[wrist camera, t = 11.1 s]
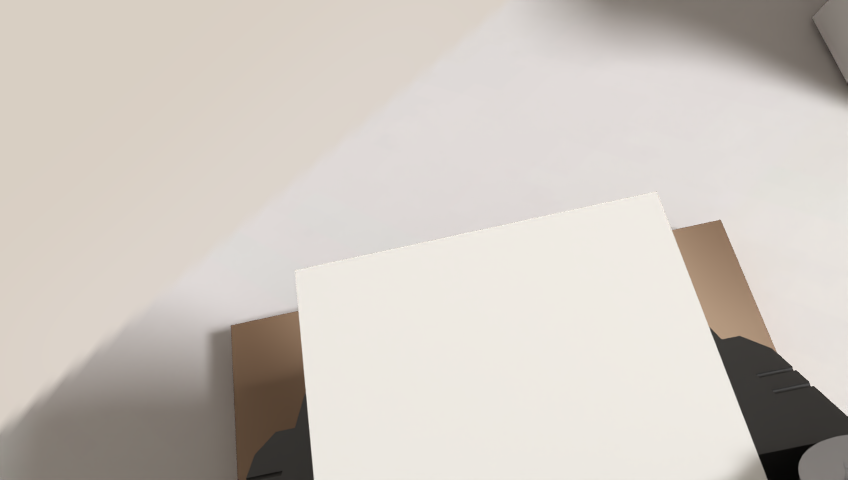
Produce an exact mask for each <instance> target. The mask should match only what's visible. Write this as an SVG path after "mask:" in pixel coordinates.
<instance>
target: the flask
mask: <svg viewBox="0 0 848 480" xmlns="http://www.w3.org/2000/svg"><path fill="white" fill-rule="evenodd" d="M812 18H813V20H814V22H815V24H816V26H817V28H818V30H819V31H820V33H821V35H822V37H823V39H824V41H825V43H826V44H827V46H828V48H829V50H830V52H831V54H832V56H833V58H834V59H835V61H836V63H837V65H838V67H839V69H840V71H841V72H842V74H843V76H844V78H845V80H846V82H847V84H848V0H828V1H827V2H826V3H825V4H824V6H823V7H822V8H821V9H820V10H819V11H818V12H817V13H816V14H815V15H814V16H813V17H812Z"/></svg>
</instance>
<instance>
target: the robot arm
mask: <svg viewBox="0 0 848 480" xmlns="http://www.w3.org/2000/svg"><path fill="white" fill-rule="evenodd" d="M709 328H710V327H709ZM710 331H711V334H712V336H713V339H714V341H715V344H716V347H717V349H718V352H719V354H720V357H721V360H722V362H723V365H724V367H725V370H726V373H727V375H728V378H729V380H730V383H731V386H732V388H733V391H734V394H735V396H736V399H737V401H738V404H739V407H740V409H741V412H742V414H743V417H744V420H745V422H746V425H747V427H748V430H749V433H750V435H751V438H752V440H753V443H754V446H755V448H756V451H757V453H758V456H759V459H760V461H761V464H762V466H763V469H764V472H765V474H766V477H767V480H848V416H846V415H845V414H844V413H843V412H842V411H841V410H840V409H839V408H838V407H836V406H835V405H834V404H833V403H832V402H831V401H830V400H829V399H828V398H826V397H825V396H824V395H823V394H822V393H821V392H820V391H819V390H818V389H816V388H815V387H814V386H812V387H811V386H810V383H809V381H808V380H806V379H805V378H804V377H803V376H802V375H801V374H800V373H799V372H798V371H796V370H795V371H793V369H792V366H791V365H790V364H789V363H788V362H786V361H785V360H784V359H783V358H782V357H781V356H780V355H779V354H778V353H776V352H775V351H774V350H773V349H772V348H770V347H767V346H765V345H762V344H760V343H757V342H754V341H752V340H749V339H747V338H744V337H742V336H736V337H731V338H726V339H721V338H720V337H719V336H718V335H717V334H716V333H715V332H714V331H713V330H712V329H711V328H710ZM246 480H314V474H313V463H312V453H311V442H310V431H309V420H308V409H307V398H306V393H305V395H304V398H303V401H302V405H301V408H300V412H299V415H298V419H297V422H296V426H295V428H292V429H287V430H282V431H277V432H275V433H274V434H273V435H272V436H271V438H270V439H269V440H268V441H267V442H266V443H265V444H264V445H263V446H262V447H261V448H260V449H259V451H258V452H257V453H256V454H255V455H254V458H253V461H252V463H251V466H250V469H249V472H248V474H247V477H246Z"/></svg>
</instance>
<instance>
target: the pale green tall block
mask: <svg viewBox="0 0 848 480" xmlns="http://www.w3.org/2000/svg"><path fill="white" fill-rule="evenodd" d="M295 279H296V290H297V301H298V312H299V322H300V333H301V344H302V355H303V366H304V377H305V388H306V398H307V409H308V420H309V431H310V442H311V453H312V463H313V474H314V480H767V477H766V474H765V472H764V469H763V466H762V464H761V461H760V459H759V456H758V453H757V451H756V448H755V446H754V443H753V440H752V438H751V435H750V433H749V430H748V427H747V425H746V422H745V420H744V417H743V414H742V412H741V409H740V407H739V404H738V401H737V399H736V396H735V394H734V391H733V388H732V386H731V383H730V380H729V378H728V375H727V373H726V370H725V367H724V365H723V362H722V360H721V357H720V354H719V352H718V349H717V347H716V344H715V341H714V339H713V336H712V334H711V331H710V328H709V326H708V323H707V321H706V318H705V315H704V313H703V310H702V308H701V305H700V302H699V300H698V297H697V294H696V292H695V289H694V287H693V284H692V281H691V279H690V276H689V274H688V271H687V268H686V266H685V263H684V261H683V258H682V255H681V253H680V250H679V248H678V245H677V242H676V240H675V237H674V235H673V232H672V229H671V227H670V224H669V222H668V219H667V216H666V214H665V211H664V208H663V206H662V203H661V201H660V198H659V195H658V193H657V191H656V192H651V193H647V194H642V195H637V196H633V197H628V198H624V199H619V200H615V201H610V202H605V203H601V204H596V205H592V206H587V207H582V208H578V209H573V210H569V211H564V212H560V213H555V214H550V215H546V216H541V217H537V218H532V219H527V220H523V221H518V222H514V223H509V224H505V225H500V226H495V227H491V228H486V229H482V230H477V231H472V232H468V233H463V234H459V235H454V236H450V237H445V238H440V239H436V240H431V241H427V242H422V243H417V244H413V245H408V246H404V247H399V248H395V249H390V250H385V251H381V252H376V253H372V254H367V255H362V256H358V257H353V258H349V259H344V260H340V261H335V262H330V263H326V264H321V265H317V266H312V267H307V268H303V269H298V270H295Z"/></svg>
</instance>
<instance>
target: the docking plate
mask: <svg viewBox="0 0 848 480" xmlns="http://www.w3.org/2000/svg"><path fill="white" fill-rule="evenodd" d="M672 232H673V235H674V237H675V240H676V242H677V245H678V248H679V250H680V253H681V255H682V258H683V261H684V263H685V266H686V268H687V271H688V274H689V276H690V279H691V281H692V284H693V287H694V289H695V292H696V294H697V297H698V300H699V302H700V305H701V308H702V310H703V313H704V315H705V318H706V321H707V323H708V326H709V327H710V328H711V329H712V330H713V331H714V332H715V333H716V334H717V335H718V336H719V337H720V338H721V339H726V338H731V337H736V336H742V337H744V338H747V339H749V340H752V341H754V342H757V343H760V344H762V345H765V346H767V347H770V348H772V349H773V350H774V351H775V352H776V350H775V347H774V345H773V343H772V340H771V338H770V335H769V333H768V331H767V328H766V326H765V324H764V321H763V319H762V317H761V314H760V312H759V309H758V307H757V305H756V302H755V300H754V298H753V295H752V293H751V291H750V288H749V286H748V283H747V281H746V279H745V276H744V274H743V272H742V269H741V267H740V265H739V262H738V260H737V257H736V255H735V253H734V250H733V248H732V246H731V243H730V241H729V239H728V236H727V234H726V231H725V229H724V227H723V224H722V222H721V220H718V221H713V222H708V223H704V224H699V225H694V226H690V227H685V228H680V229H676V230H672ZM231 337H232V360H233V383H234V405H235V428H236V451H237V474H238V480H246V477H247V474H248V472H249V469H250V466H251V463H252V461H253V458H254V455H255V454H256V453H257V452H258V451H259V449H260V448H261V447H262V446H263V445H264V444H265V443H266V442H267V441H268V440H269V439H270V438H271V436H272V435H273V434H274V433H275V432H277V431H282V430H287V429H292V428H295V426H296V422H297V419H298V415H299V412H300V408H301V405H302V401H303V398H304V395H305V393H306V388H305V377H304V366H303V355H302V344H301V333H300V322H299V312H298V311H296V312H291V313H287V314H282V315H278V316H273V317H268V318H264V319H259V320H254V321H250V322H245V323H241V324H236V325H231ZM776 353H777V352H776Z"/></svg>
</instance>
